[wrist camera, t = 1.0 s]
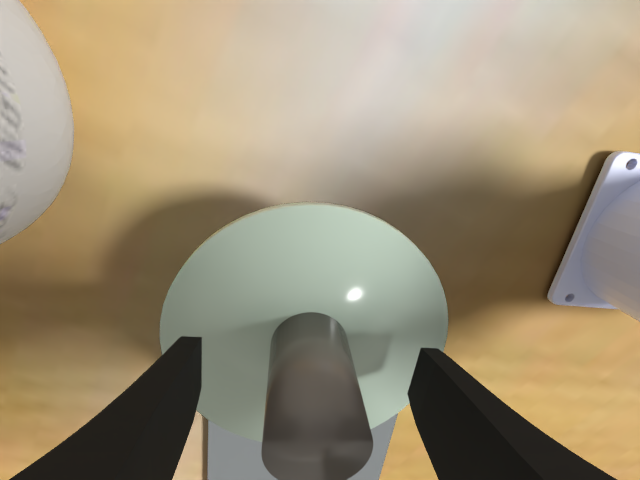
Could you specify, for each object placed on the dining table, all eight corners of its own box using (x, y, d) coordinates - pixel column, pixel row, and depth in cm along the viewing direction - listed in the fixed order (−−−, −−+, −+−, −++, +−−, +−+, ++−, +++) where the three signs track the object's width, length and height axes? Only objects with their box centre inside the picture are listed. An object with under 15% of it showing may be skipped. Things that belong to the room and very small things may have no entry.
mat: (405, 373, 19) (408, 378, 18) (370, 496, 23) (372, 502, 22) (210, 365, 17) (209, 370, 17) (208, 498, 21) (207, 505, 21)
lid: (474, 217, 11) (589, 280, 7) (408, 433, 15) (456, 563, 11) (158, 185, 10) (57, 240, 6) (171, 431, 14) (116, 577, 9)
